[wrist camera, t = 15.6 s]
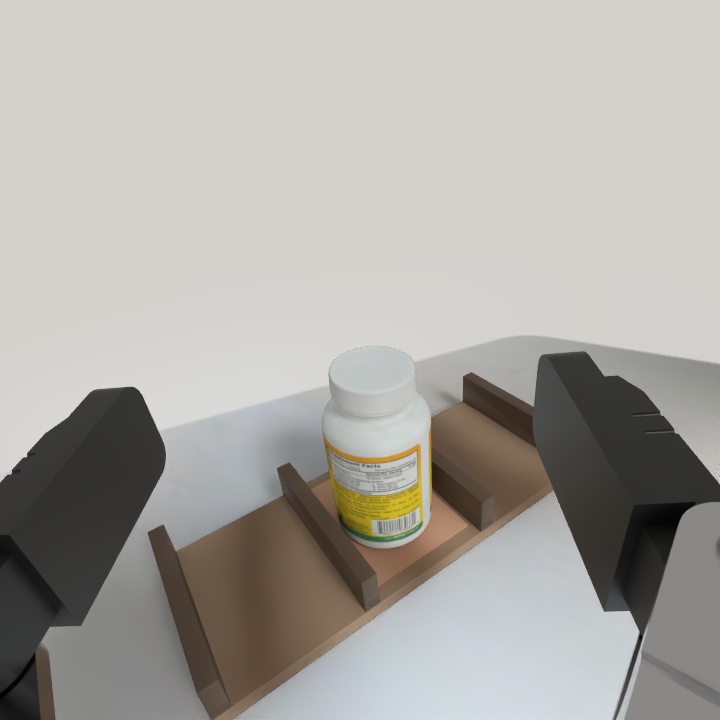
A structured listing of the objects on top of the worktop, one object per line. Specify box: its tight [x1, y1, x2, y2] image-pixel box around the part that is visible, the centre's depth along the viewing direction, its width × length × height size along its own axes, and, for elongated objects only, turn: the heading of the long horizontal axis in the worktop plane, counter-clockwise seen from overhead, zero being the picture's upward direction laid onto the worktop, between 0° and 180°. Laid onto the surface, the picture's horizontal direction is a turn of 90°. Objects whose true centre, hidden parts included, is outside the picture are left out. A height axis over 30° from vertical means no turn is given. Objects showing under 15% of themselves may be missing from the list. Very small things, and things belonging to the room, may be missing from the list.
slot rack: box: [148, 372, 553, 720], centre depth 26 cm, size 23×9×3 cm, turn 123°
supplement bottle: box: [322, 346, 432, 549], centre depth 24 cm, size 5×5×10 cm
